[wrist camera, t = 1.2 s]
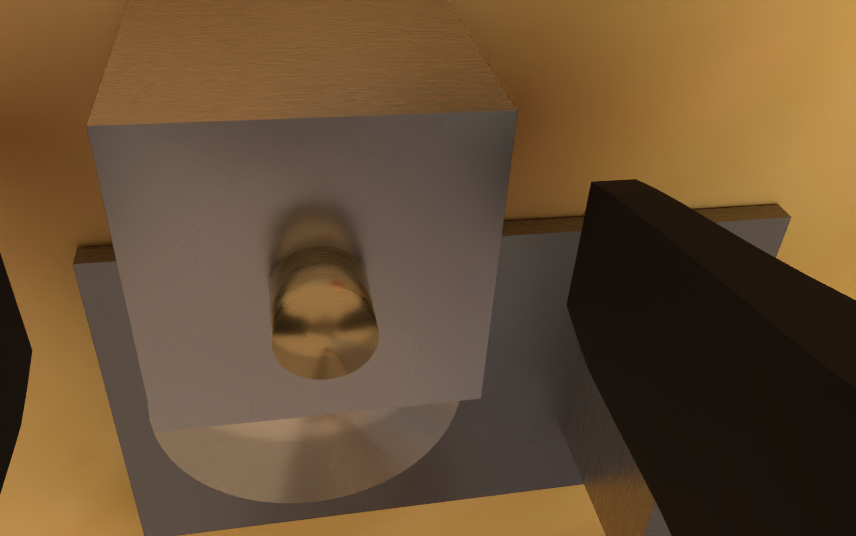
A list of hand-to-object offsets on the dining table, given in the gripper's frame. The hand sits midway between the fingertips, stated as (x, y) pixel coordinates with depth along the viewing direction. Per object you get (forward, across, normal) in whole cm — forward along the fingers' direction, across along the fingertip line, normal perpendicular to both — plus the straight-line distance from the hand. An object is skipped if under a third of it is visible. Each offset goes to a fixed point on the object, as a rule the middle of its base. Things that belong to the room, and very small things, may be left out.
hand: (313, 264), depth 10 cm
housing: (+5, 0, 0) cm, 5 cm away
